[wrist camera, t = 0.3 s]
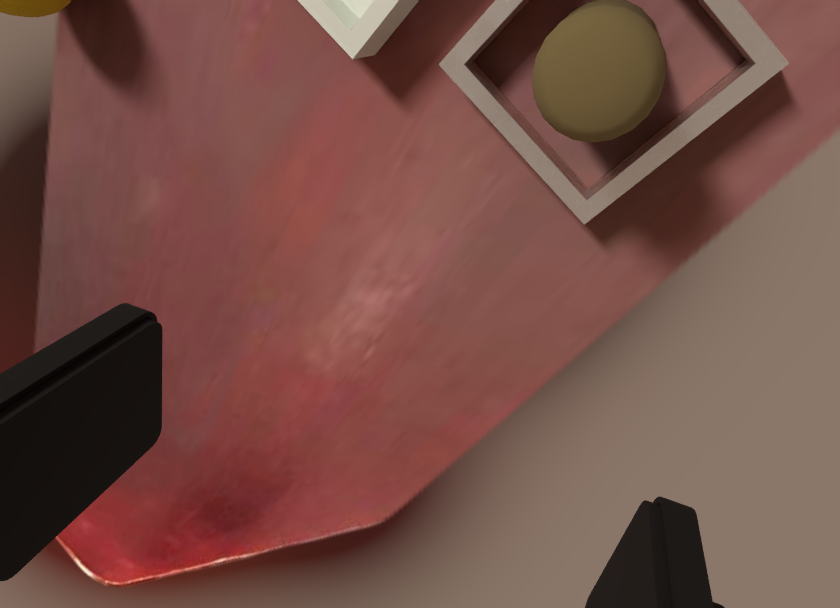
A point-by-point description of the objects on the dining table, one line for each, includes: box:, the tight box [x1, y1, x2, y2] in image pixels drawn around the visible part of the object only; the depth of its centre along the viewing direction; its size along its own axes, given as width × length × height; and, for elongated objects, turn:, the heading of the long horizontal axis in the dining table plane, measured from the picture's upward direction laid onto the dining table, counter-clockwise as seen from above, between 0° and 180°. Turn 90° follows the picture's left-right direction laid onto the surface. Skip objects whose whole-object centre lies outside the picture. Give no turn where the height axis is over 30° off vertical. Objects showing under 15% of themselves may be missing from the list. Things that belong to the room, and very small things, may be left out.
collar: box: [439, 0, 789, 225], centre depth 31 cm, size 12×12×2 cm
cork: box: [532, 0, 666, 143], centre depth 27 cm, size 6×6×11 cm
